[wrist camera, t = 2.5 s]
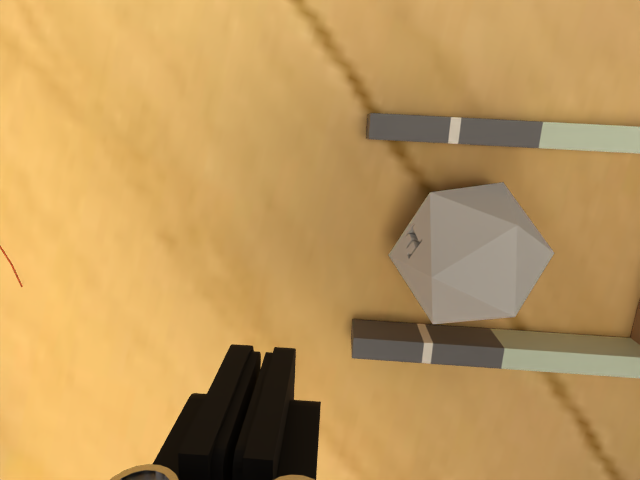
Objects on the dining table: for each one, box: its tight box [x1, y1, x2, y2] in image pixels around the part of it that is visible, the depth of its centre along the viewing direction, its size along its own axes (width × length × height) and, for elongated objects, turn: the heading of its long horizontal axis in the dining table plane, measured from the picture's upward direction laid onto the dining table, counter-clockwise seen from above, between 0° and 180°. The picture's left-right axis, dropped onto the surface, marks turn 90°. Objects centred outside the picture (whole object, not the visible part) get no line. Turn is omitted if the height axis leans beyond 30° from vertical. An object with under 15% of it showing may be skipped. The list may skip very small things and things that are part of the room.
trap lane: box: [351, 113, 640, 378], centre depth 28 cm, size 21×16×5 cm
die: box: [389, 182, 554, 324], centre depth 27 cm, size 8×9×10 cm
